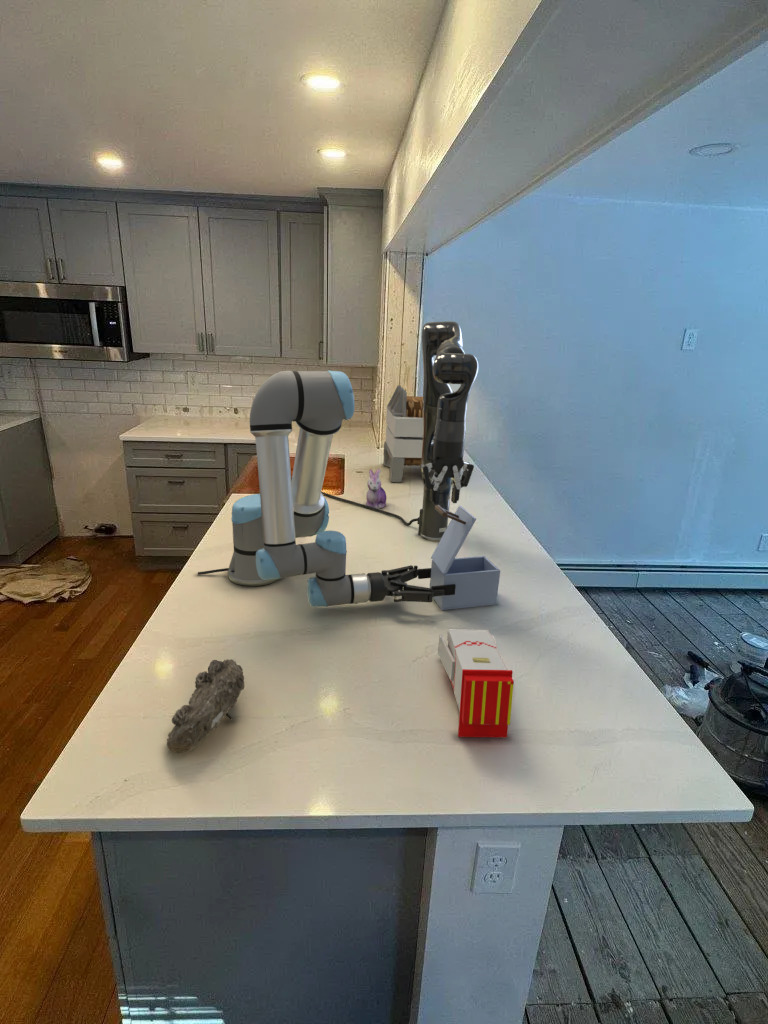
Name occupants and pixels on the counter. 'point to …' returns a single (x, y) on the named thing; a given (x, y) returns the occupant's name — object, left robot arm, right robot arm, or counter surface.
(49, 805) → the counter surface
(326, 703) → the counter surface
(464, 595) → the chest
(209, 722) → the fossil
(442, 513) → the lid
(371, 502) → the figurine
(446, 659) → the toy
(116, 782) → the counter surface
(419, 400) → the grey slatted crate
